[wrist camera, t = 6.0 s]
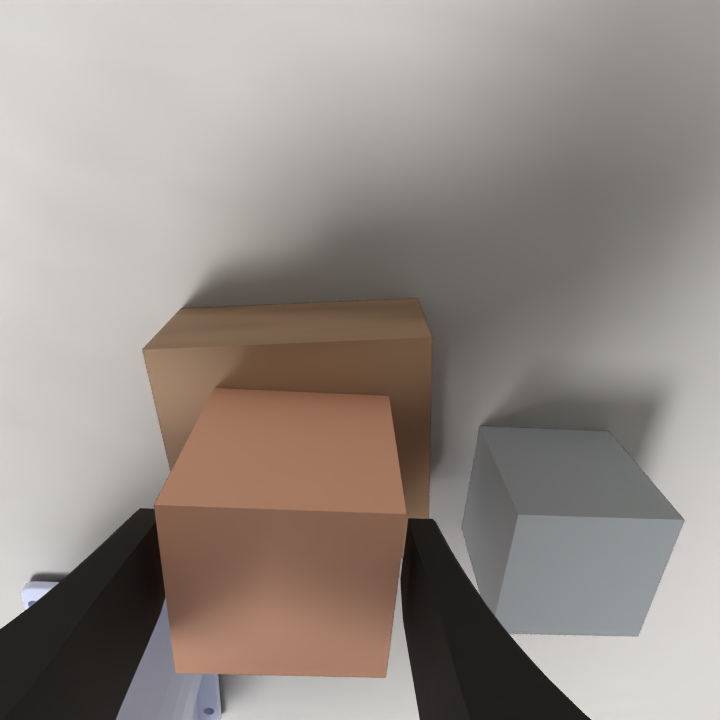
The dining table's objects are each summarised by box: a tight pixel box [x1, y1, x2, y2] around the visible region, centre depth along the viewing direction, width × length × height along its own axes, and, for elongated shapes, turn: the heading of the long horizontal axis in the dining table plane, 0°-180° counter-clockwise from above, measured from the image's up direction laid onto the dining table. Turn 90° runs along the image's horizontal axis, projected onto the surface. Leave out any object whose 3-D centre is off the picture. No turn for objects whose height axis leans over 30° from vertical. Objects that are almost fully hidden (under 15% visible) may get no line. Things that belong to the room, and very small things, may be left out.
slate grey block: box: [462, 426, 684, 636], centre depth 19 cm, size 5×5×5 cm
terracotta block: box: [154, 388, 407, 678], centre depth 14 cm, size 5×5×5 cm
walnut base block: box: [142, 298, 432, 558], centre depth 18 cm, size 8×8×4 cm
